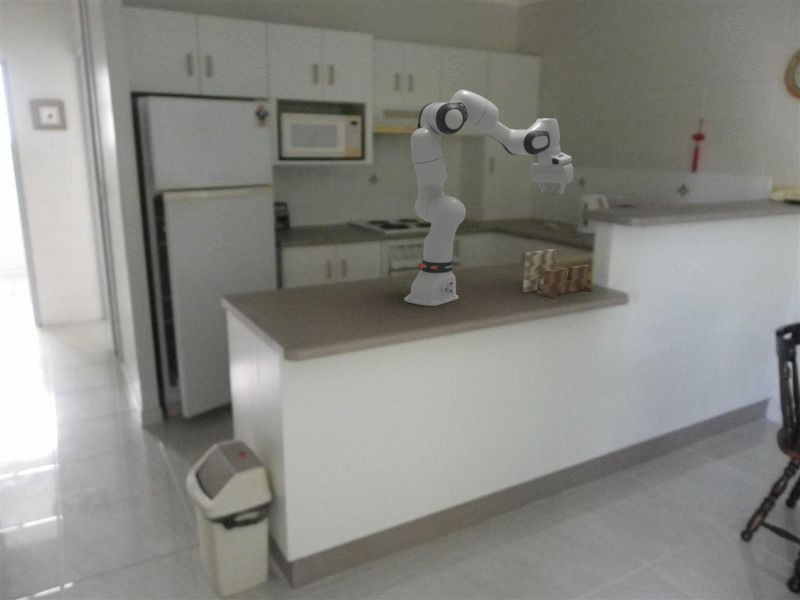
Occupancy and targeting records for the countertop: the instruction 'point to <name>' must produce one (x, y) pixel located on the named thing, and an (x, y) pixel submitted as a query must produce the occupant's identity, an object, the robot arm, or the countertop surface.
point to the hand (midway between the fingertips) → (552, 193)
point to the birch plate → (537, 268)
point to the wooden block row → (565, 281)
